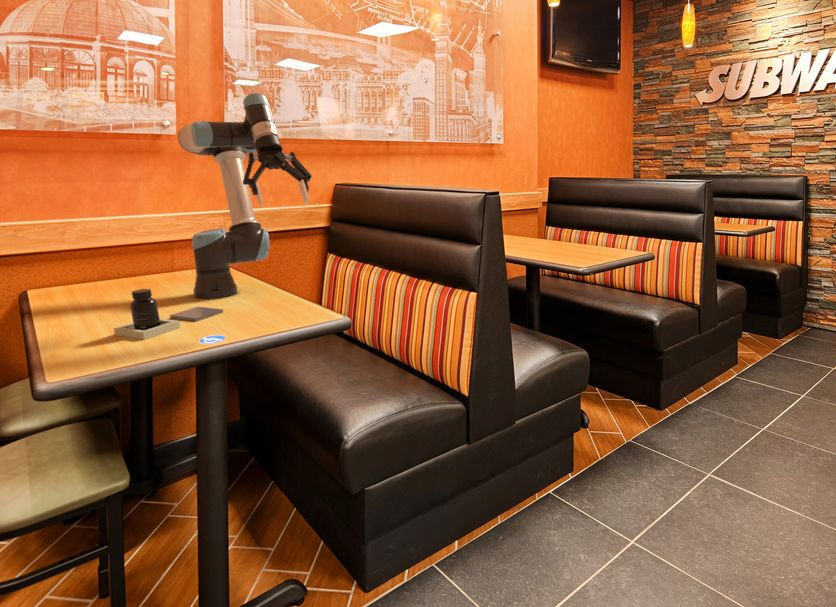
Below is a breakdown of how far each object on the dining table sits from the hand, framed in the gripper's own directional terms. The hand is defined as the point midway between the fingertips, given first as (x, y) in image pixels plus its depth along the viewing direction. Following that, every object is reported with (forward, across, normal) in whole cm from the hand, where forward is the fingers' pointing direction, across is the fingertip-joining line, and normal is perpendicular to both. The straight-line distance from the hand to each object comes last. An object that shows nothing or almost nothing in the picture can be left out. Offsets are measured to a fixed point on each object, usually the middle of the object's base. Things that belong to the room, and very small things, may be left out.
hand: (284, 202), depth 159 cm
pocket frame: (+23, -40, +27) cm, 54 cm away
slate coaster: (+18, -25, +35) cm, 47 cm away
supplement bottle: (+24, -40, +27) cm, 54 cm away
